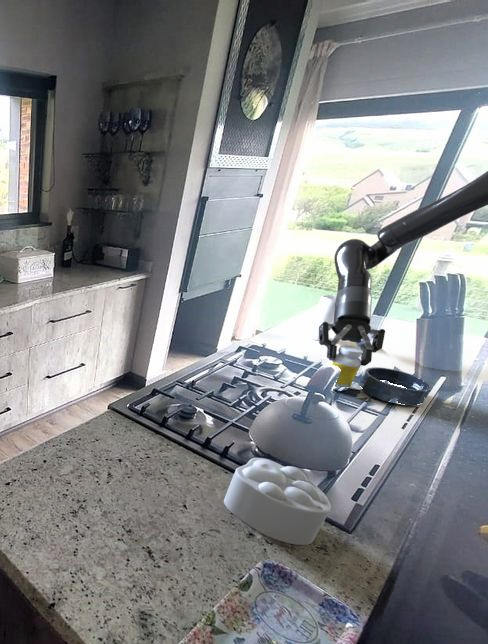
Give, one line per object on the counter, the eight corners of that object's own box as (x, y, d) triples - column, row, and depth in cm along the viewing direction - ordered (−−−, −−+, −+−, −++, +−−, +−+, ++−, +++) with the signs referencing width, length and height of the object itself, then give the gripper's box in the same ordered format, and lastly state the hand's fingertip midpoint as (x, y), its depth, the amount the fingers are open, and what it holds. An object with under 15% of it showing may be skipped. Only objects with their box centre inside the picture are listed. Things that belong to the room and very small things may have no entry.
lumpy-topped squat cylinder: (247, 482, 77) (262, 446, 73) (325, 528, 68) (348, 490, 64) (216, 503, 72) (231, 466, 68) (296, 557, 63) (319, 517, 59)
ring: (428, 398, 107) (438, 382, 105) (413, 413, 101) (424, 396, 98) (366, 378, 117) (374, 363, 115) (349, 390, 110) (357, 374, 108)
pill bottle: (349, 394, 108) (369, 355, 103) (320, 388, 111) (337, 349, 106) (346, 385, 113) (365, 347, 108) (318, 379, 116) (334, 341, 111)
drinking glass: (307, 340, 142) (325, 299, 135) (302, 333, 148) (318, 293, 141) (330, 343, 140) (349, 301, 133) (323, 336, 146) (341, 296, 139)
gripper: (328, 296, 110) (322, 352, 106) (394, 303, 105) (391, 362, 101) (315, 309, 117) (309, 362, 113) (376, 316, 112) (373, 372, 108)
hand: (348, 362), depth 107 cm, fingers closed on pill bottle, 6 cm apart
